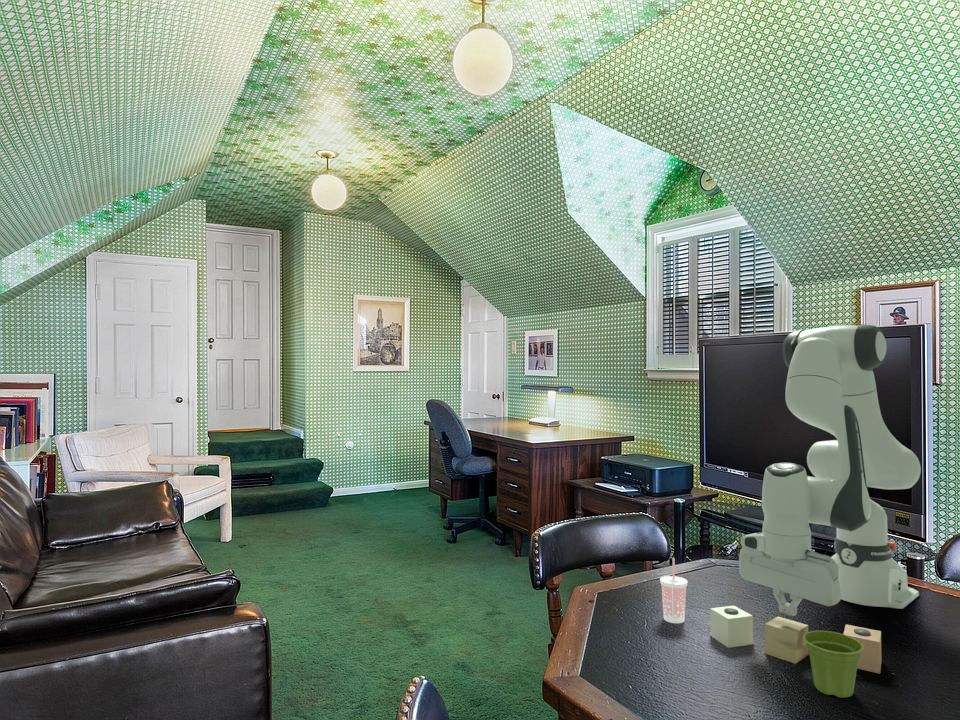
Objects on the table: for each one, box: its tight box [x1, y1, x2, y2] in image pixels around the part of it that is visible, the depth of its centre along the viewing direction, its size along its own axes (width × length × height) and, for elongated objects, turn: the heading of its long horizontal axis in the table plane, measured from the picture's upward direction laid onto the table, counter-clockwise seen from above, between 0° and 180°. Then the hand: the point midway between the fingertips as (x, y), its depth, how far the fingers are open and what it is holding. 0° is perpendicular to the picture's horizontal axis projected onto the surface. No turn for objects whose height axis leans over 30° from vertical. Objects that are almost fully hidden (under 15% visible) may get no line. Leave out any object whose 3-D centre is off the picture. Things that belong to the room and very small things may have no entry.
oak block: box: [764, 616, 810, 665], centre depth 127 cm, size 6×6×6 cm
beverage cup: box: [659, 557, 689, 624], centre depth 144 cm, size 6×6×14 cm
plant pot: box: [803, 630, 864, 699], centre depth 112 cm, size 9×9×9 cm
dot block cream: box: [709, 605, 754, 649], centre depth 133 cm, size 6×6×6 cm
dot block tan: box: [842, 623, 882, 675], centre depth 122 cm, size 6×6×6 cm
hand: (787, 613), depth 127 cm, fingers closed
